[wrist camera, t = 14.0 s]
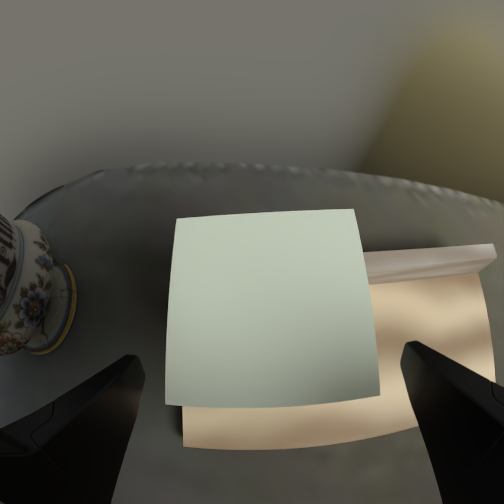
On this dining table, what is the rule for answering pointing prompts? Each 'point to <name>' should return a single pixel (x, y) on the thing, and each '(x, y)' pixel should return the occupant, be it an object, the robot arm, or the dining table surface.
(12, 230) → the apothecary jar
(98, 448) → the robot arm
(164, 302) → the dining table surface
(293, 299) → the carton
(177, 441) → the dining table surface
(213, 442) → the shelf
